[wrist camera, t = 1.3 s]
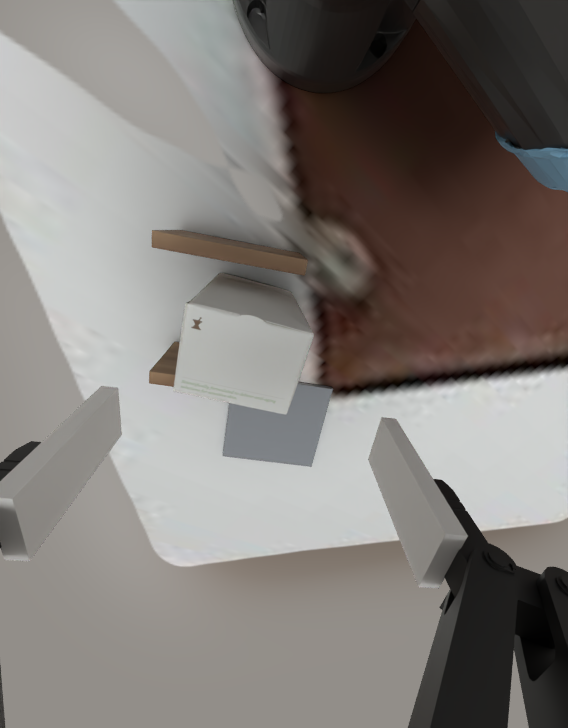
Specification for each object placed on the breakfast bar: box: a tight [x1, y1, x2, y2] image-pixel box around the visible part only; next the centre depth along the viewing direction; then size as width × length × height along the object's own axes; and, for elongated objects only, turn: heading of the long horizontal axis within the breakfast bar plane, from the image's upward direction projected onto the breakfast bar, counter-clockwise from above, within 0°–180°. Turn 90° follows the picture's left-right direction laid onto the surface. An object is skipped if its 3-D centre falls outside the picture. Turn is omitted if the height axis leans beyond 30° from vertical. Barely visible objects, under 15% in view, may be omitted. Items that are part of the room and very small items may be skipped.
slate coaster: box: [223, 382, 333, 467], centre depth 40 cm, size 12×12×1 cm
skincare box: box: [173, 273, 314, 415], centre depth 27 cm, size 8×7×16 cm
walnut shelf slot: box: [149, 230, 308, 387], centre depth 30 cm, size 13×12×8 cm
